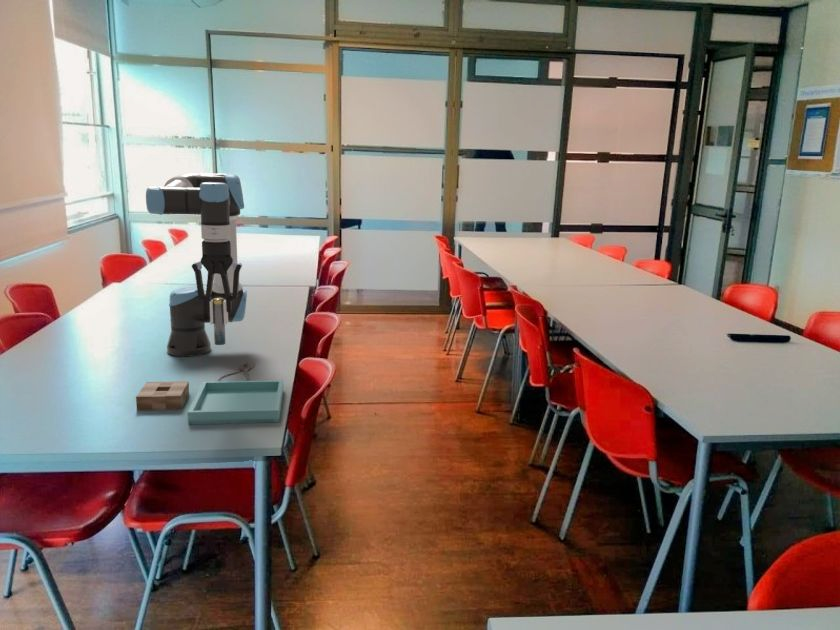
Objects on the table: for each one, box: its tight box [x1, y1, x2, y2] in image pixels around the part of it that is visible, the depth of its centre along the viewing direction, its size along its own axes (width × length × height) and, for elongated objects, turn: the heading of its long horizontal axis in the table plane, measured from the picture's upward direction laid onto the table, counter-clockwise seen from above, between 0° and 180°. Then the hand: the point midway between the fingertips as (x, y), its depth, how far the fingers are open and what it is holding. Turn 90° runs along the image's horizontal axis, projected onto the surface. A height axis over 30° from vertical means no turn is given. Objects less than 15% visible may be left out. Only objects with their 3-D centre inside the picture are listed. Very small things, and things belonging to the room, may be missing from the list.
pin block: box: [135, 380, 190, 411], centre depth 189 cm, size 12×12×4 cm
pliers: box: [217, 362, 256, 381], centre depth 215 cm, size 10×1×20 cm
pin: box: [213, 298, 226, 346], centre depth 181 cm, size 3×3×13 cm
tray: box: [187, 379, 284, 425], centre depth 187 cm, size 24×24×4 cm
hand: (219, 322), depth 182 cm, fingers closed on pin, 3 cm apart
